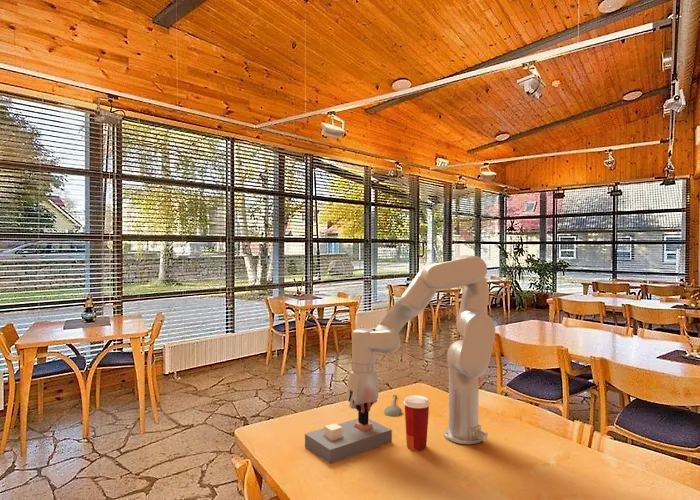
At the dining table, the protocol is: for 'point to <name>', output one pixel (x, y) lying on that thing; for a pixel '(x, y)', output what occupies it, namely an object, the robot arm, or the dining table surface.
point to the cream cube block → (333, 432)
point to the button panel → (348, 441)
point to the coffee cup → (416, 422)
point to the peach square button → (363, 426)
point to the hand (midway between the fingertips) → (363, 423)
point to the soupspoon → (393, 409)
